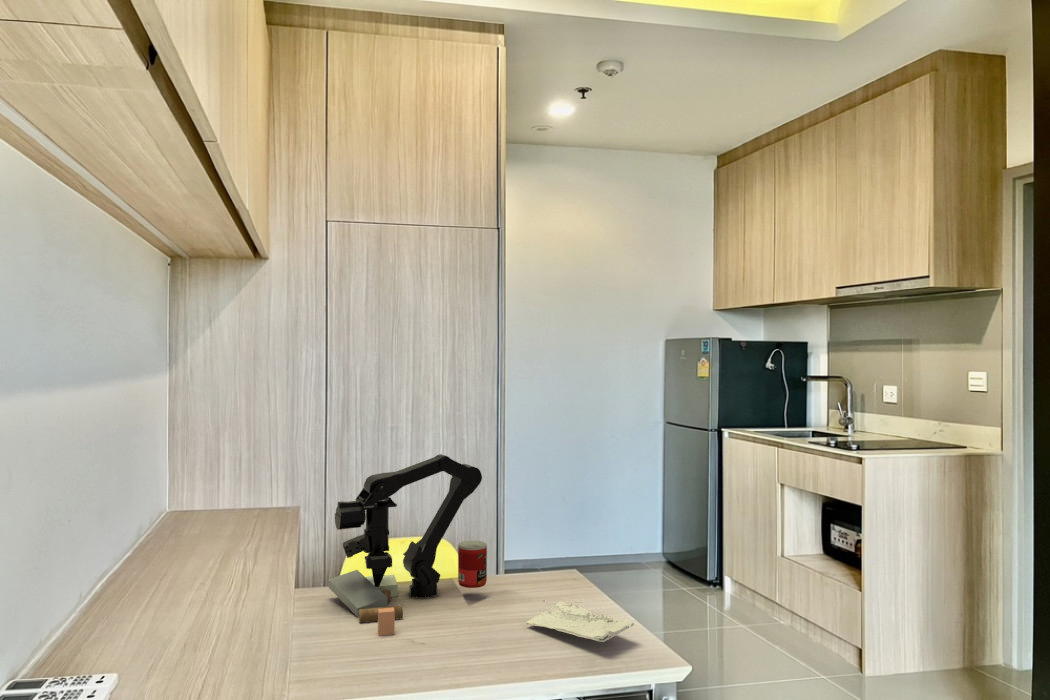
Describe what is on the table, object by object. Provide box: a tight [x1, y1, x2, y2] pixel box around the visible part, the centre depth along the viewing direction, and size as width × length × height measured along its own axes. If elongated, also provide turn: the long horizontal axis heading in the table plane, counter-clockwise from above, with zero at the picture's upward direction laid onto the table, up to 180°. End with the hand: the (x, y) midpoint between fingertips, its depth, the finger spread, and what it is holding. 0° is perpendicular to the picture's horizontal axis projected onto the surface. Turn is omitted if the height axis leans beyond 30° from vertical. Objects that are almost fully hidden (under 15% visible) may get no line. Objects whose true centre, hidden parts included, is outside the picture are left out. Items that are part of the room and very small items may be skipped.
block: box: [365, 574, 399, 598], centre depth 188 cm, size 11×9×3 cm
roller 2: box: [381, 590, 392, 603], centre depth 181 cm, size 11×3×3 cm
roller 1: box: [358, 605, 404, 624], centre depth 169 cm, size 10×3×3 cm, turn 106°
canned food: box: [457, 540, 488, 589], centre depth 196 cm, size 8×8×11 cm
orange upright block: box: [377, 607, 396, 637], centre depth 161 cm, size 4×2×5 cm
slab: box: [328, 569, 388, 618], centre depth 178 cm, size 8×16×2 cm, turn 39°
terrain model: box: [525, 601, 635, 643], centre depth 166 cm, size 17×23×5 cm
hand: (376, 586), depth 181 cm, fingers closed
